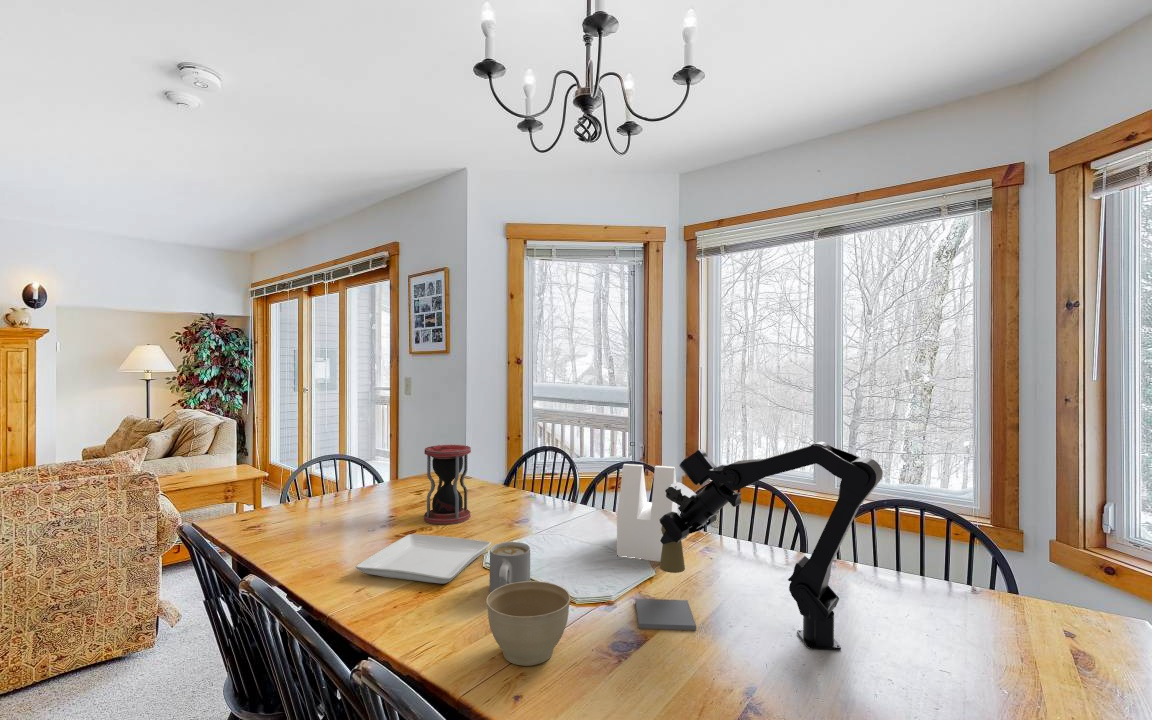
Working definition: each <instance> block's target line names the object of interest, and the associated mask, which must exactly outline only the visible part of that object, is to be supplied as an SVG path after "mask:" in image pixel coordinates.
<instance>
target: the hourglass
mask: <svg viewBox="0 0 1152 720" xmlns="http://www.w3.org/2000/svg"><path fill="white" fill-rule="evenodd" d="M471 448H472V447H471V446H468V445H463V444H441V445H440V444H438V445H433V446H427V447H425V448H424V455H426V460H427V462H426V469H427V470H426V476H427V478H428V480H429V481H430V484H431V485H430V490H429V491H428V492H427V496H426V512H425V513H424V514H423V520H424V522H425V523H428V524H432V525H453V524H459V523H464V522H466V521H468V520H469V519H470V518H471V511H470V510H469V509H468V489H467V486H466V485H465V482H464V480H465V477H466V474H467V473H468V455H469V454H471V453H472V449H471ZM431 458H432V460H431ZM431 461H432V464H431ZM431 465H432V470H433V471H434V474H435V475H436V476H437V477H438V486H437V489H436V490H437V491H436V492H435V493H434V496H433V497H432V503H431V496H432V493H433V492H434V491H435V487H436V482H435V480H434V479H433V478H432V474H431ZM463 469H464V470H463ZM461 471H463V472H462V474H461V475H460V473H461ZM459 475H460V477H459ZM458 481H459V483H460V486H461V487H462V489H463V491H464V492H463V496H464V497H463V496H462V494H461V492H460V491H459V490H458ZM452 482H453V483H452ZM431 508H432V509H431Z"/></svg>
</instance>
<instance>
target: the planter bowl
mask: <svg viewBox="0 0 1152 720" xmlns="http://www.w3.org/2000/svg"><path fill="white" fill-rule="evenodd" d="M485 601H486V603H485V604H486V607H487V619H488V623H489V628H490V631H491V633H492V635H493V636H492V637H493V638H494V640H495V642H496V644H497V645H498V646H499V648H500V649H501V650H502V654H503V657H504V659H505V660H506V661H508V662H509V663H511V664H513V665H517V666H526V667H529V666H537V665H540V664H543V663H545V662H547V661H548V660H549V659H550V658H551V657H552V656H553V653H554V650H555V648H556V646H557V645H558V643H559V642H560V640H561V638H562V637H563V634H564V633H565V630H566V627H567V623H568V618H569V613H570V612H569V611H570V604H571V594H570V593H569V591H567V589H566V588H564V587H562V586H560V585H559V584H556V583H550V582H546V581H535V580H533V581H531V580H530V581H525V582H516V583H511V584H507V585H504V586H501V587H499V588H497V589H495V590H494V591H492V592H491V593H490V592H489V594H488V595H487V597H486V600H485Z"/></svg>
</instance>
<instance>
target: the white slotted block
mask: <svg viewBox="0 0 1152 720" xmlns="http://www.w3.org/2000/svg"><path fill="white" fill-rule="evenodd" d="M644 469H645V468H644V464H636V463H624V464H623V465H622V472H621V480H620V488H619V489H620V490H619V497H618V506H617V514H616V515H617V516H616V556H617V555H618V556H627V557H635V558H641V559H646V560H645V561H651V562H653V561H654V562H658V563H660V561H661V553H662V545H663V544H662V543H661V541H660V540H661V538H662V536H663V534H662V531H661V527H662V524H661V523H660V520H659V519H661V518H662V517H663V516H664V515H665V514H667V513H670V512H676V513H677V514H678V504H676V503H675V502H672V501H671V500H670V499H668V498H667V497H666V492H665V490H666V489H668V487H669V486H670V485H671V484H673V483H676V482H677V476H676V475H677V473H676V467H675V466H668V465H667V466H665V465H655V466H654V471H653V472H654V474H653V483H652V484H653V486H652V497H651V501H648V499H647V491H646V490H647V489H646V480H645V472H644ZM641 559H640V560H641Z"/></svg>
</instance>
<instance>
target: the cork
mask: <svg viewBox="0 0 1152 720" xmlns="http://www.w3.org/2000/svg"><path fill="white" fill-rule="evenodd" d="M661 531H662V534H664V532H665V529H664V527H663V526H662V527H661ZM659 569H660V570H661V571H663V572H666V573H670V574H671V573H672V574H679V573H682V572H685V570H686V565H685V558H684V551H683V544H682V540H681V541H679V542H677V543H676V542H670V543H666V544H663V545H662V553H661V561H660V562H659Z"/></svg>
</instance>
